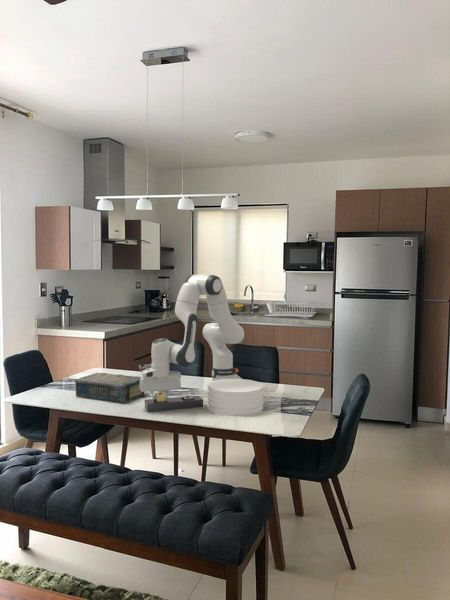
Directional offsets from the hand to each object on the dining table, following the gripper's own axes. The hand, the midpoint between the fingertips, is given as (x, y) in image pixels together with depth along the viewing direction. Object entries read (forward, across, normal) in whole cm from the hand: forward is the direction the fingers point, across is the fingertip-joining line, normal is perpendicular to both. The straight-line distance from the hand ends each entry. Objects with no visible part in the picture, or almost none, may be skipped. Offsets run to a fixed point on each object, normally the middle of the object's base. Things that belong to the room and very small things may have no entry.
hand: (160, 399), depth 240 cm
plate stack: (+5, -37, +8) cm, 38 cm away
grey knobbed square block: (+5, -14, 0) cm, 15 cm away
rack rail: (+5, -7, 0) cm, 8 cm away
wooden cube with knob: (+2, 0, 0) cm, 2 cm away
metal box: (+5, +21, -32) cm, 39 cm away
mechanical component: (+5, -4, -62) cm, 62 cm away
